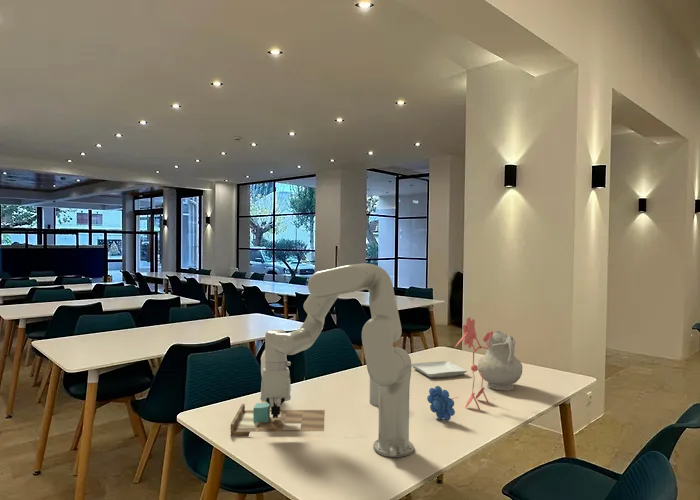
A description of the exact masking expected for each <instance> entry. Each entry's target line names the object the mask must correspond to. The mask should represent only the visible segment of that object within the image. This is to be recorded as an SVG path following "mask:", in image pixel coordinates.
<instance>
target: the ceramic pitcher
mask: <svg viewBox="0 0 700 500" xmlns="http://www.w3.org/2000/svg"><path fill="white" fill-rule="evenodd" d="M487 333H488V332H485V333H484V336H485V335H486V334H487ZM484 336H483V337H484ZM488 342H489V340H487V341H486V342H484V344H485V347H486V348H487V347H488ZM515 345H516V340H515V338H514V337H513V336H509V335H507V333H505V332H503V331H502V330H501V331H500V330H496V331H495V333H493V336H492V337H491V340H490V344H489V348H488V349H486V352H485V354H484V355H483V356H482V357H480V358H479V360H478V361H477V367H478V370H480V371H478V370H477V371H478V373H479V375H480V377H481V378H482V372H481V371H483V380H484V381H486V382H487V384H486V387H487V388H488V389H492V390H495V391H501V392H502V391H503V392H504V391H505V392H506V391H513V390H514V389H515V387H514V386H513V385H514V384H516V383H517V382H518V381H519V380H520V379H521V377H522V375H523V363H522V362H521V361H520V360H519V359H518V358H517V357H516V356H515V353H516V351H515V350H516V349H515Z"/></svg>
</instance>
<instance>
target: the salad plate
mask: <svg viewBox="0 0 700 500" xmlns="http://www.w3.org/2000/svg"><path fill="white" fill-rule="evenodd" d="M411 364H412V369H415V370H416V371H417V372H420V373H421V374H424V375H425V376H427V377H428V378H432V379H433V378H434V379H436V378H437V379H438V378H449V377H457V376H460V375H464V374H466V373H467V372H468V370H467V369H465V368H463V367H460V366H458V365H457V364H454V363H452V362H449V361H448V360H441V361H440V360H439V361H426V362H416V363H414V362H413V363H411Z"/></svg>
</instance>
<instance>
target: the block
mask: <svg viewBox="0 0 700 500" xmlns="http://www.w3.org/2000/svg"><path fill="white" fill-rule="evenodd" d="M253 410H254V411H253V422H268V420H269V418H270V417H271V411H270V410H271V406H270V404H269V403H268V402H255V404H254V406H253Z"/></svg>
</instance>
